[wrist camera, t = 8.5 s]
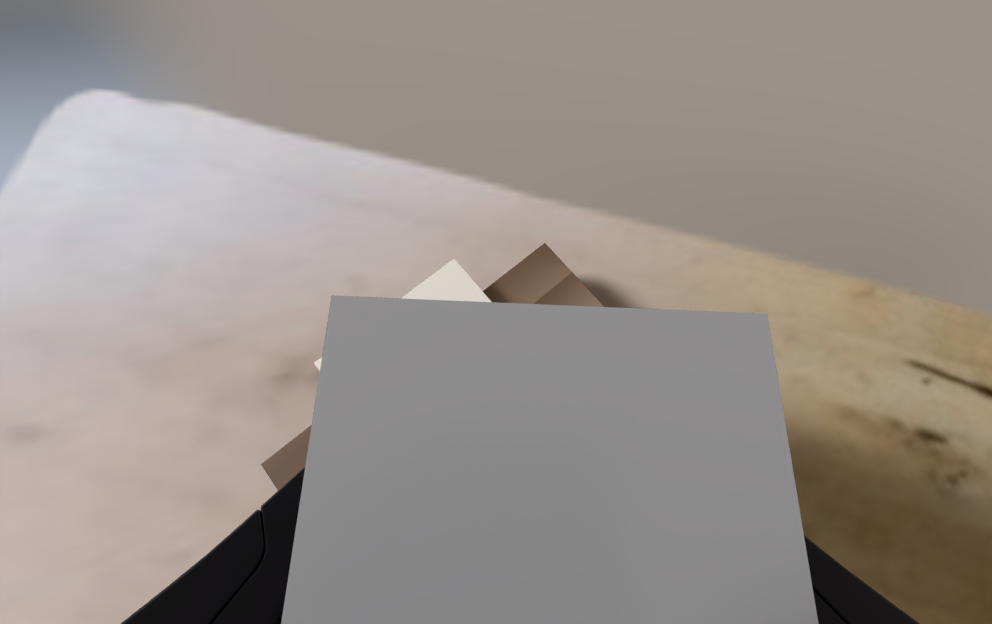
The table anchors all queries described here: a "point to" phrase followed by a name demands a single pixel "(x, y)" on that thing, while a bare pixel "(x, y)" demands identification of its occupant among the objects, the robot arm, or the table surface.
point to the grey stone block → (547, 469)
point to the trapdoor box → (524, 284)
